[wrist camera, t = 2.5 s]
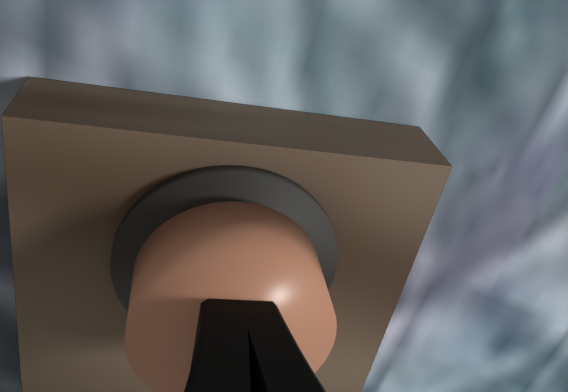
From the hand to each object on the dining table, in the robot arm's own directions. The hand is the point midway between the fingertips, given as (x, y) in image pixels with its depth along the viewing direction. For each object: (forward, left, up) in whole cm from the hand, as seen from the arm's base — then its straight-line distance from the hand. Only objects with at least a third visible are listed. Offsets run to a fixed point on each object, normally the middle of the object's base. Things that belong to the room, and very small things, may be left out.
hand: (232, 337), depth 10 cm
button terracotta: (0, 0, -2) cm, 2 cm away
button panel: (-7, +2, -4) cm, 8 cm away
